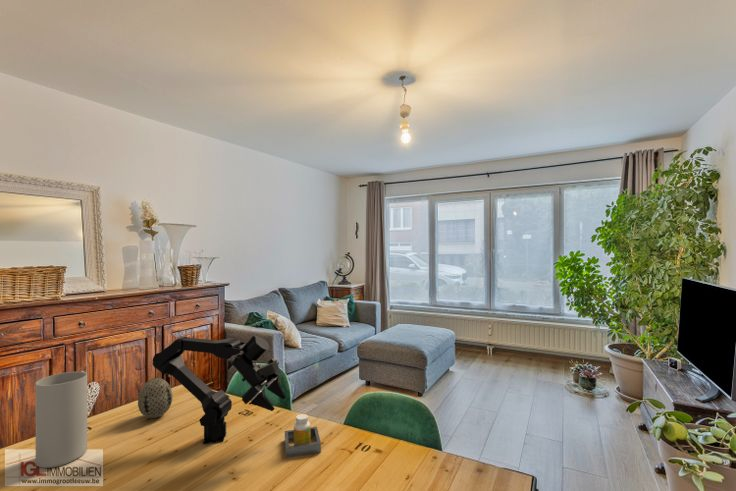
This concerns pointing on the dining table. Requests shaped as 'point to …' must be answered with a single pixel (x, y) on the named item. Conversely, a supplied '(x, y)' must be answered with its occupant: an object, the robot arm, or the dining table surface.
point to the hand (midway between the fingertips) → (279, 404)
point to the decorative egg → (155, 398)
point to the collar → (302, 448)
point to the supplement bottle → (301, 430)
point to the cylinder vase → (61, 418)
